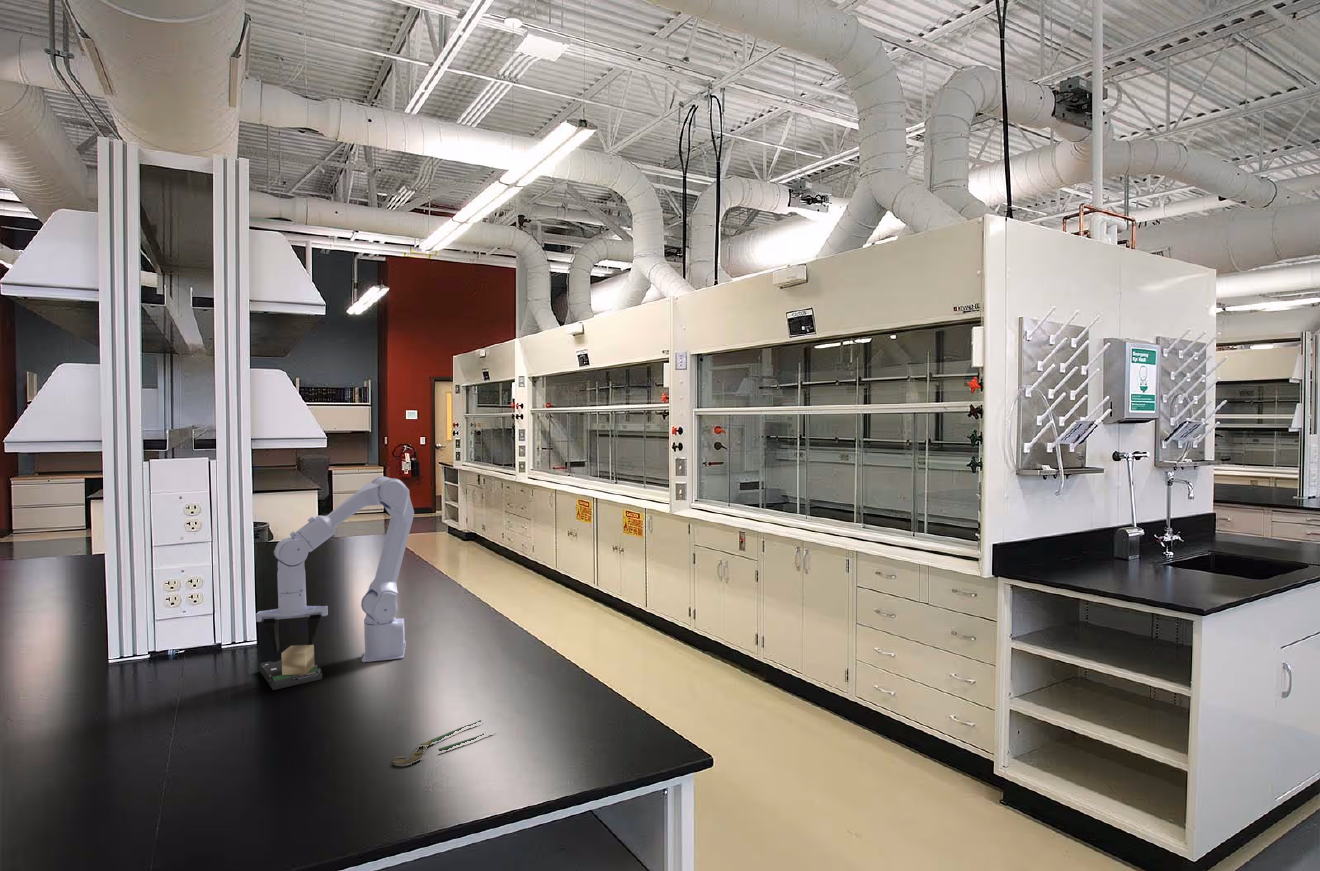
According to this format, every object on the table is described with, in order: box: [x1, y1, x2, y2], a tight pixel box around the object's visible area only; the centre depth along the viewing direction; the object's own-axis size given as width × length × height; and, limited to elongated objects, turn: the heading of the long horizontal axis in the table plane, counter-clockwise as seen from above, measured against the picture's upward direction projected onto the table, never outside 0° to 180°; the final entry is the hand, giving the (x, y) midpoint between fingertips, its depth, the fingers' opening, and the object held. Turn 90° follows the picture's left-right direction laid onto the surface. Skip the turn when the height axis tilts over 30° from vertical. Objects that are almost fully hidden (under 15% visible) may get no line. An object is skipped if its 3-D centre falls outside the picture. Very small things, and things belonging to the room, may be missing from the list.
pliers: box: [392, 719, 484, 764], centre depth 130 cm, size 20×6×1 cm, turn 136°
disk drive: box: [259, 658, 323, 691], centre depth 165 cm, size 10×3×15 cm
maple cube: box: [280, 644, 315, 675], centre depth 162 cm, size 5×5×5 cm
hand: (293, 649), depth 165 cm, fingers open, 7 cm apart
